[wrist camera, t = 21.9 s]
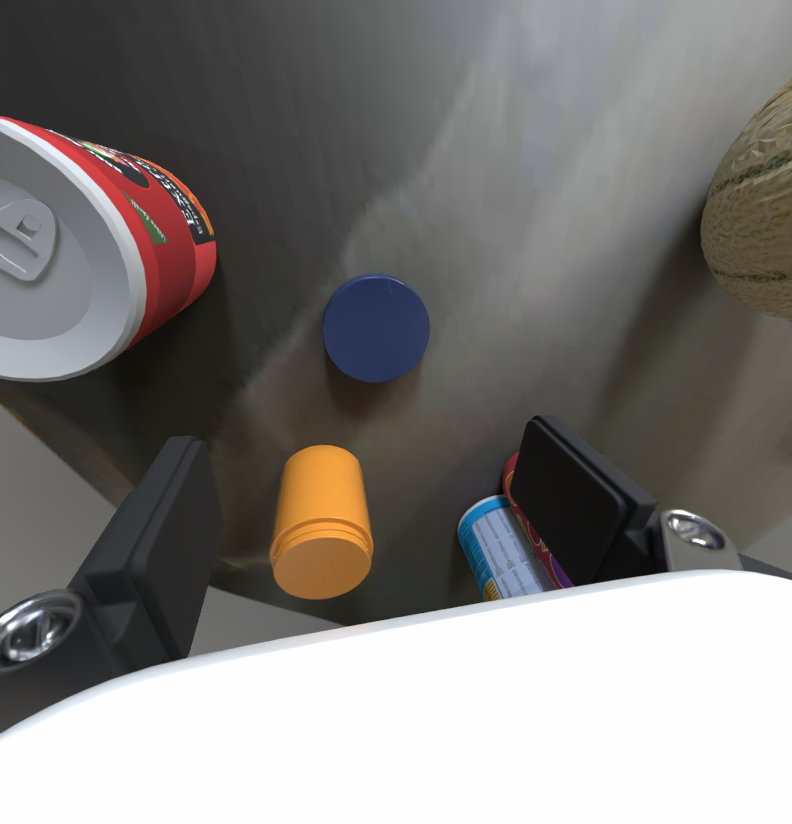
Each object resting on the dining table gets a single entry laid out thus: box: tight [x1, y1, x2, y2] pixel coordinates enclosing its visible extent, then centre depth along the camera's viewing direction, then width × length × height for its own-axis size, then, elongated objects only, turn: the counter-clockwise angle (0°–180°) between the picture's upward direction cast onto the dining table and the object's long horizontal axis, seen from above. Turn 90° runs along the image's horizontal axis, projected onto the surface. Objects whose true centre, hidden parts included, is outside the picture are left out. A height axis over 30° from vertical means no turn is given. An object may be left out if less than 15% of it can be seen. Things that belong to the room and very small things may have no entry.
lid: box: [323, 274, 430, 383], centre depth 24 cm, size 7×7×2 cm
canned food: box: [0, 116, 216, 382], centre depth 15 cm, size 8×8×11 cm
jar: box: [269, 445, 373, 599], centre depth 26 cm, size 7×7×9 cm
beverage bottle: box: [457, 494, 554, 602], centre depth 29 cm, size 8×8×20 cm
